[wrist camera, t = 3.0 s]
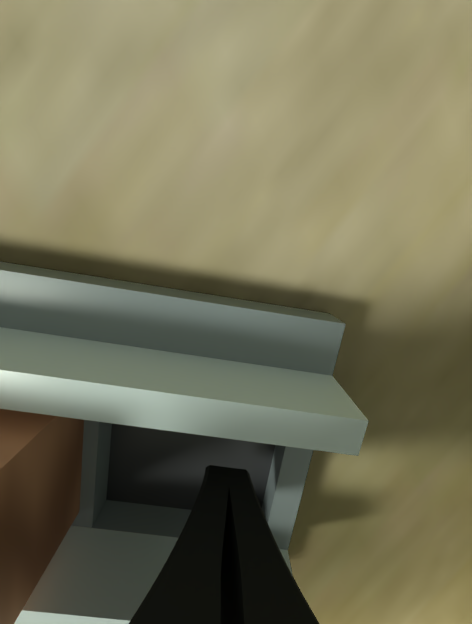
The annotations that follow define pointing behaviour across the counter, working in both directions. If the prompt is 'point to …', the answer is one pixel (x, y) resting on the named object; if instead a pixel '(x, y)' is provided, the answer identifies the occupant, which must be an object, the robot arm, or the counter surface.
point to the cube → (34, 498)
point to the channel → (164, 417)
